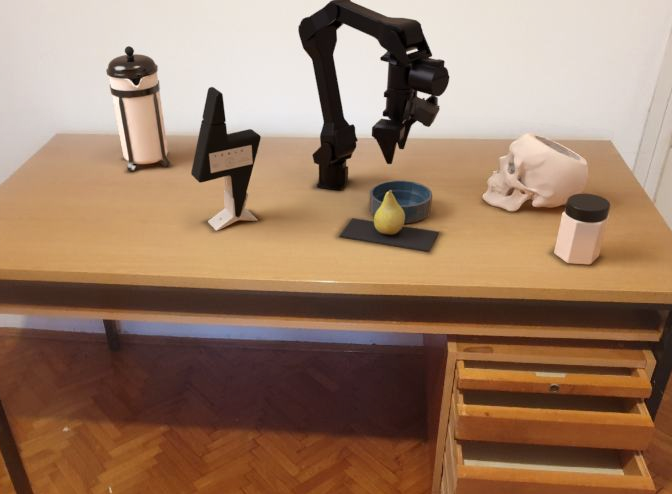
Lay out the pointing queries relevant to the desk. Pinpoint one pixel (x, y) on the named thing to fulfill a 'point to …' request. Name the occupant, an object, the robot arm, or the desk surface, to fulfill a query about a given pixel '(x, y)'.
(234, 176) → the award
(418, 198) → the bowl
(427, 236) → the place mat
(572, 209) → the jar
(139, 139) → the coffee press
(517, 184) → the skull planter
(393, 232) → the fruit
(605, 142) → the desk surface
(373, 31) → the robot arm
